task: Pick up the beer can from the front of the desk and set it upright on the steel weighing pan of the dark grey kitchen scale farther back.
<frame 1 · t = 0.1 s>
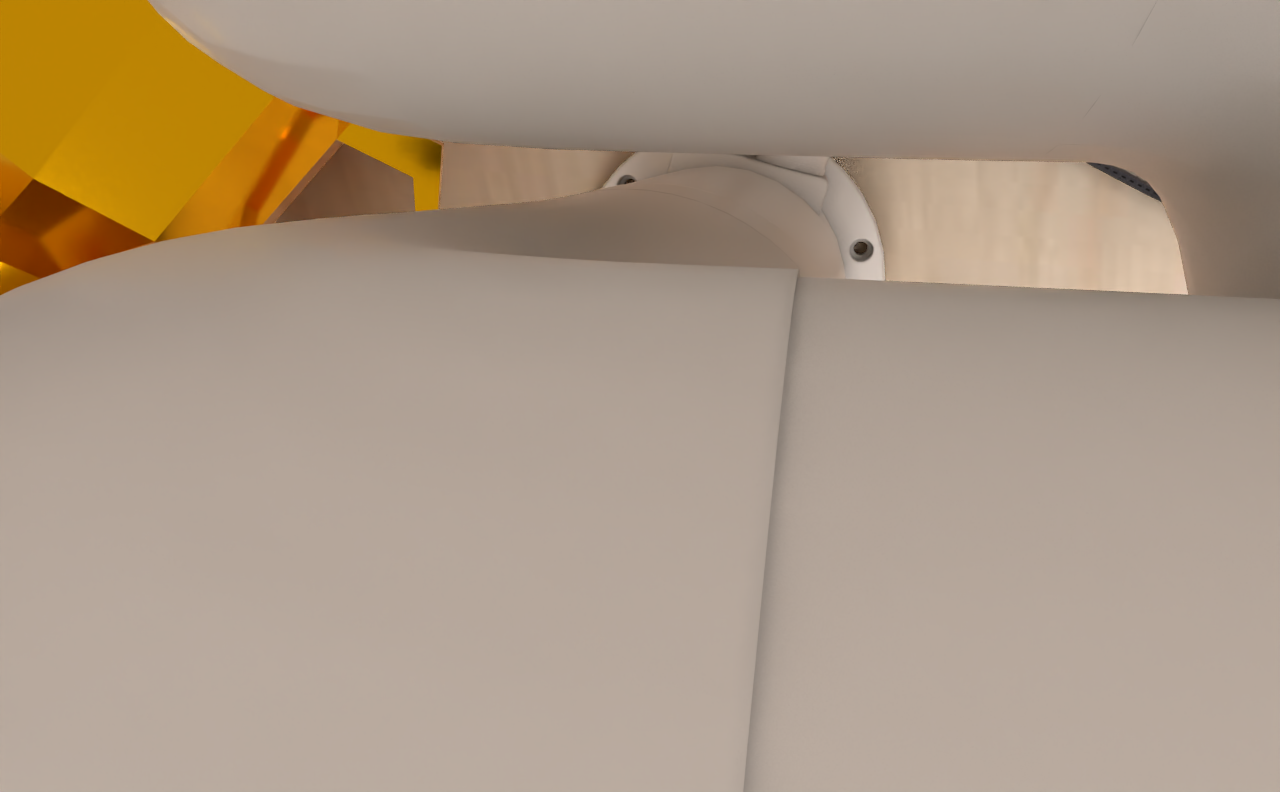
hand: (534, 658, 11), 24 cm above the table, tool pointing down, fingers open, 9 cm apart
toy tank: (1062, 25, 28), on the table
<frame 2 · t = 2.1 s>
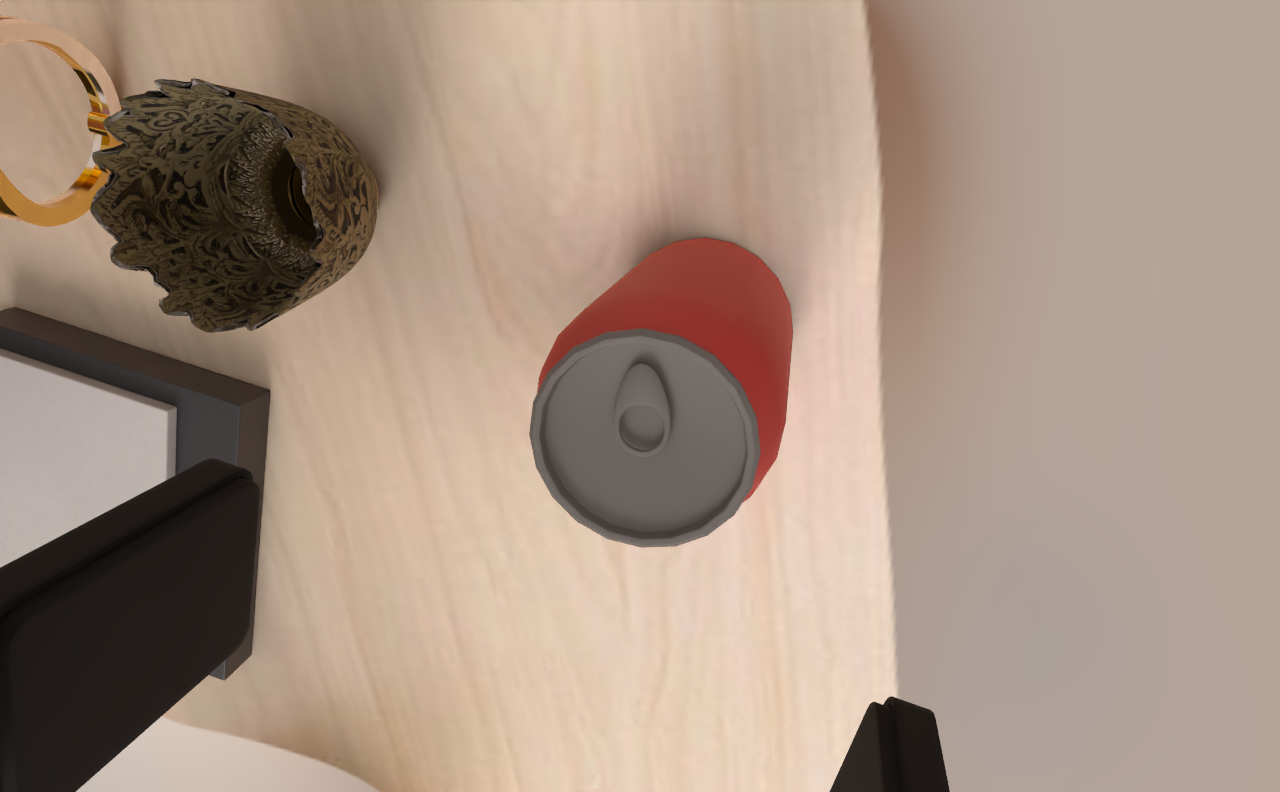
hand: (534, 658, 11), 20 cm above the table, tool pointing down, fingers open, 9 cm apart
scale: (139, 490, 38), on the table
ornate brass lampshade: (346, 190, 31), on the table
ring: (123, 124, 32), on the table
beer can: (705, 322, 30), on the table
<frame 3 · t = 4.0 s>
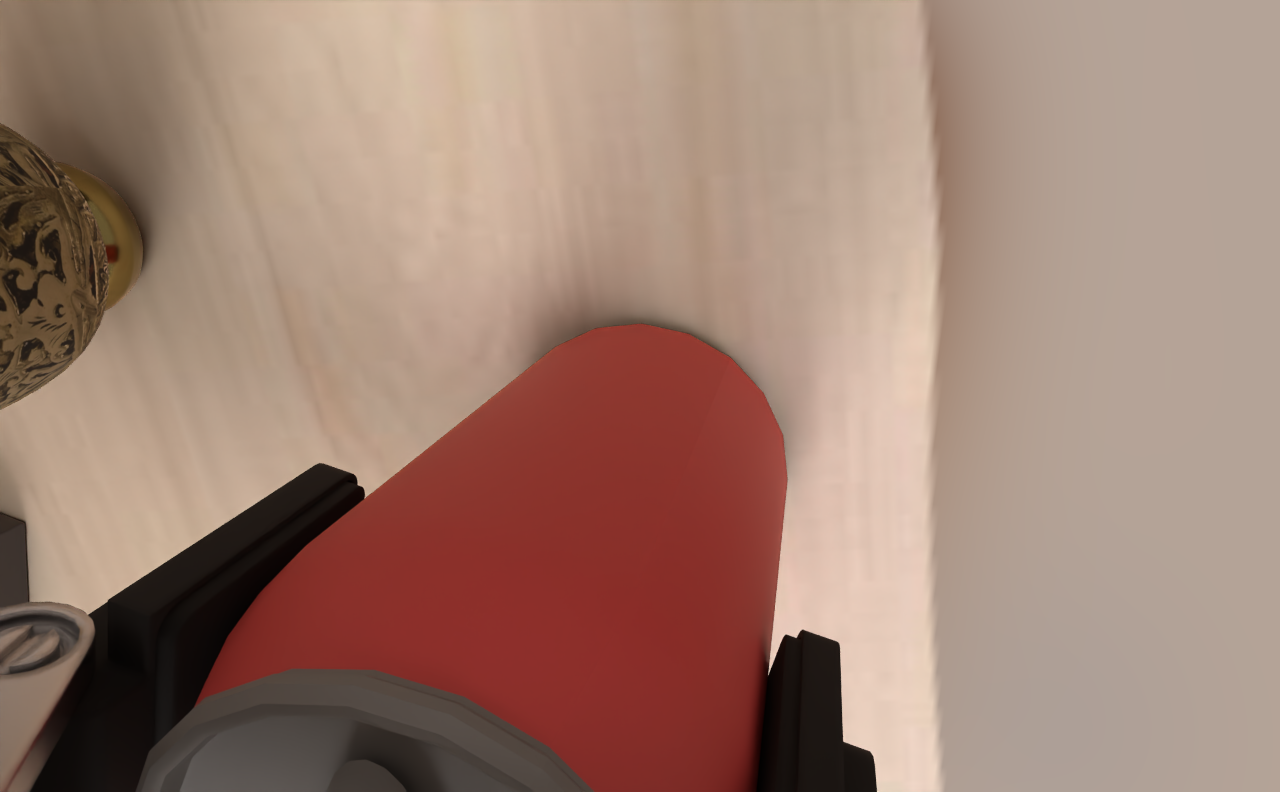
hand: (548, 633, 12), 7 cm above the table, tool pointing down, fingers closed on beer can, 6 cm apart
ornate brass lampshade: (101, 235, 20), on the table
beer can: (648, 451, 19), on the table, touching gripper
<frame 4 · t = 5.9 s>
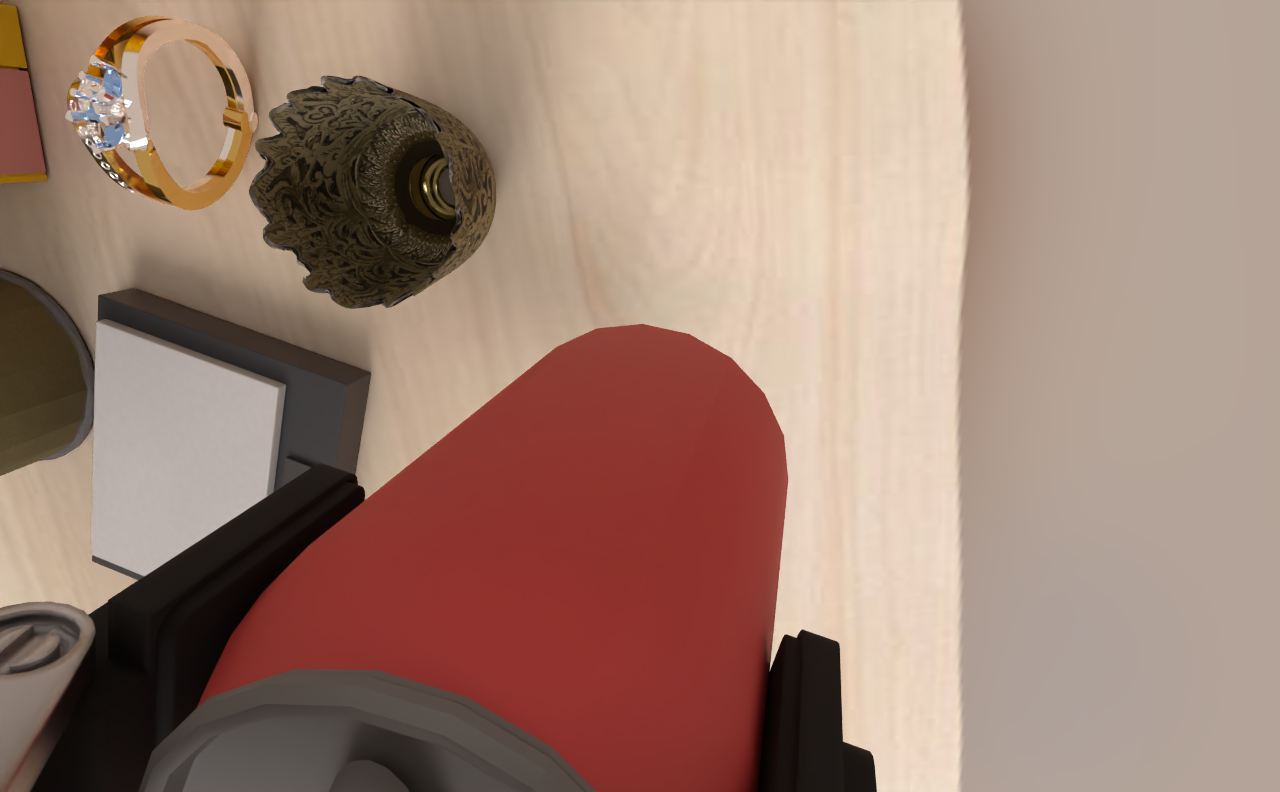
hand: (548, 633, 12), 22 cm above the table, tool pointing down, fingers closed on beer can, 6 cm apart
scale: (236, 465, 40), on the table
canister: (19, 361, 42), on the table
ornate brass lampshade: (459, 186, 33), on the table
ring: (252, 120, 34), on the table
beer can: (648, 451, 19), point 15 cm above the table, touching gripper
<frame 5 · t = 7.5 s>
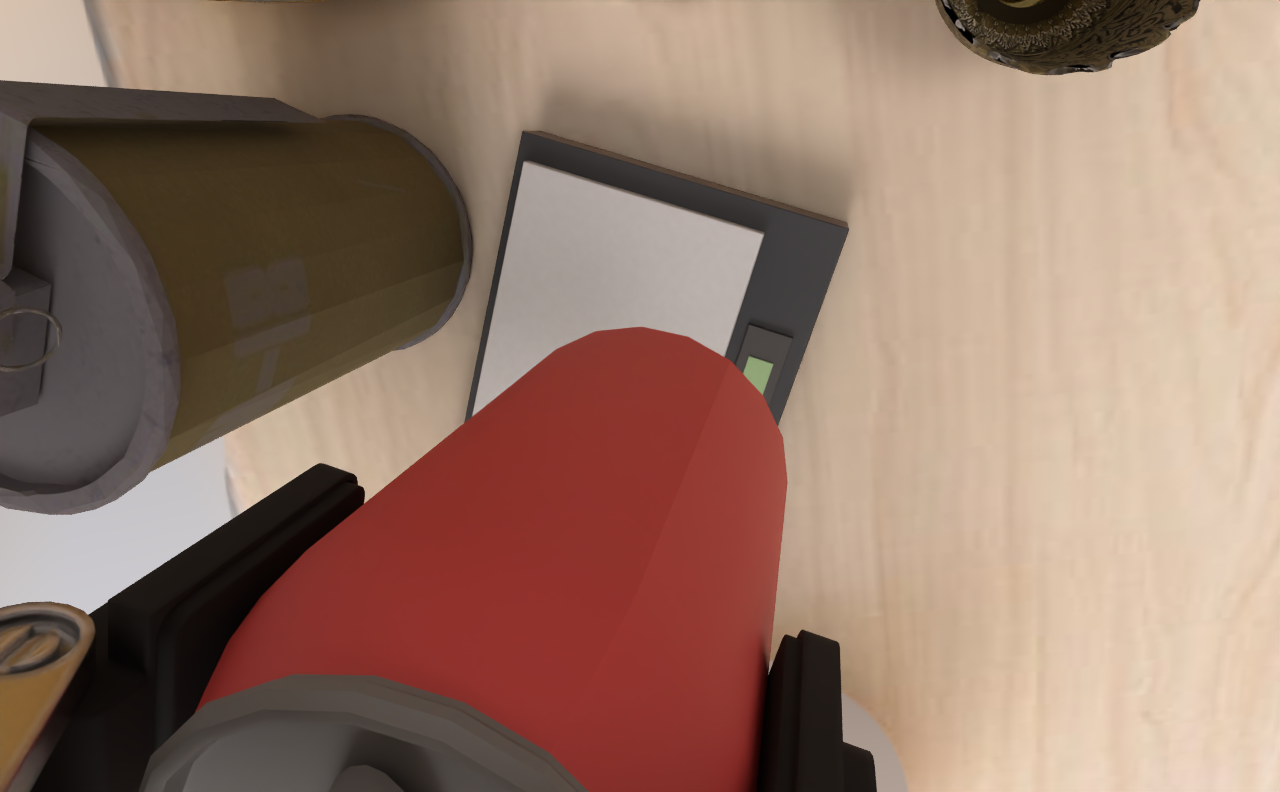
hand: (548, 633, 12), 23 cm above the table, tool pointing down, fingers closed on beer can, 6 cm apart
scale: (641, 347, 34), on the table
canister: (368, 232, 35), on the table
beer can: (648, 453, 19), point 15 cm above the table, touching gripper
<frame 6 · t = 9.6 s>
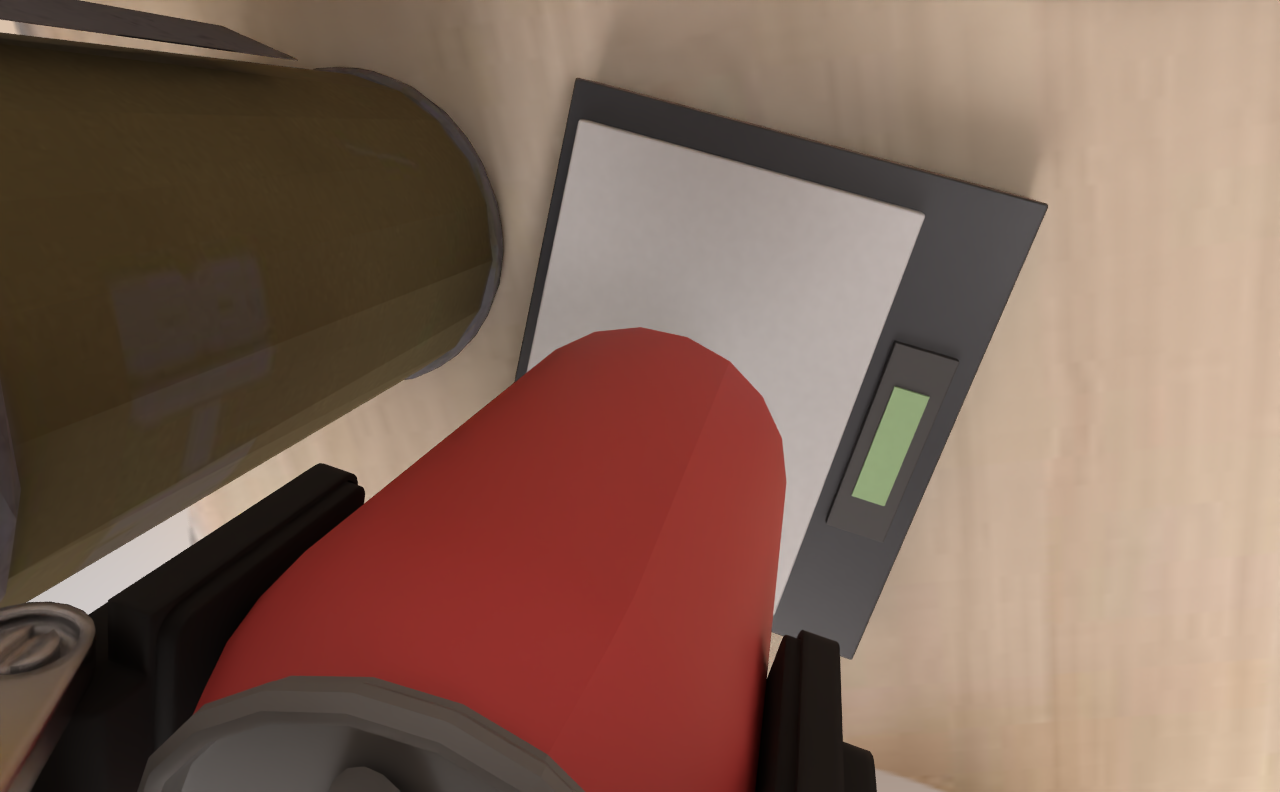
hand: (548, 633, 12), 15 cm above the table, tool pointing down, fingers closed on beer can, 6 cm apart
scale: (732, 373, 25), on the table
canister: (365, 226, 27), on the table
beer can: (647, 454, 19), point 8 cm above the table, touching gripper
when the fingers open (10 cm above the table, at t = 11.4 s): beer can stays where it is, resting on scale.
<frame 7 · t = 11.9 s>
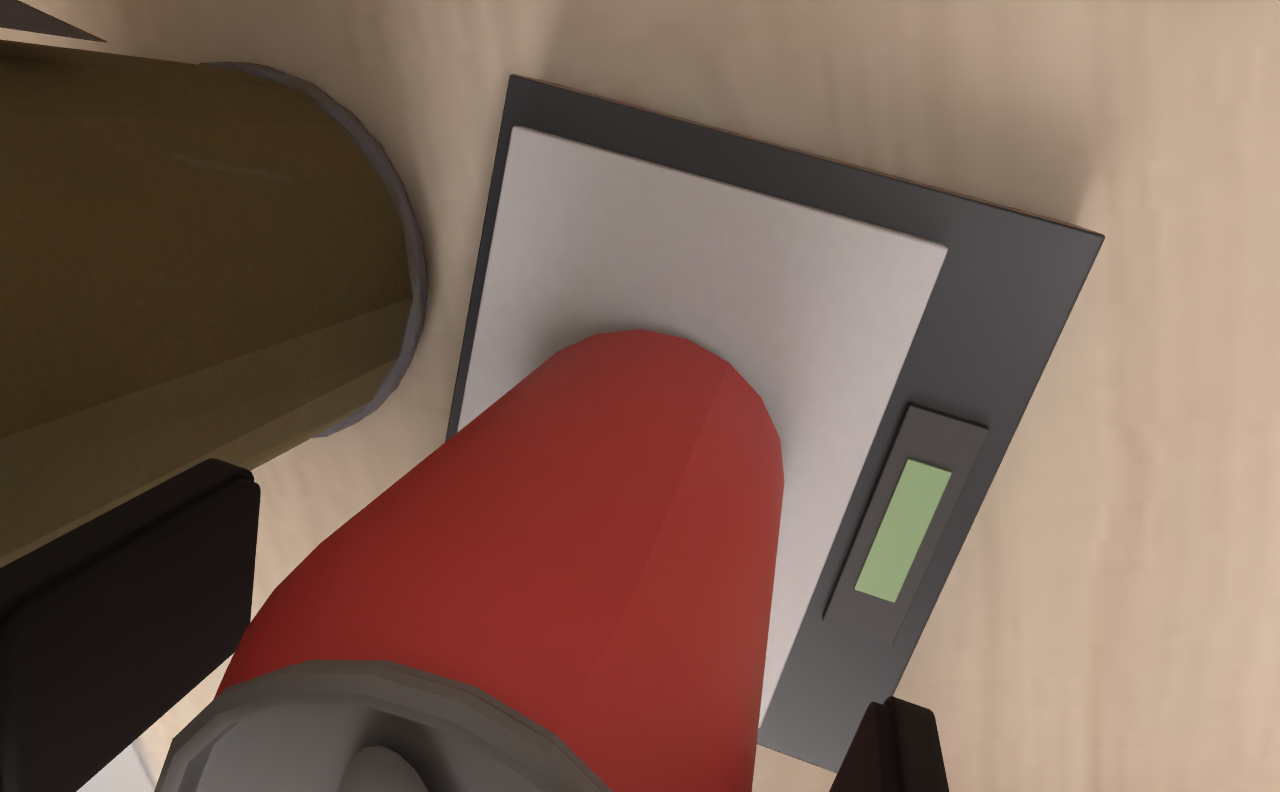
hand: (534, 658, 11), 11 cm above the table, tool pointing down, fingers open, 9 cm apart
scale: (709, 432, 21), on the table
canister: (268, 254, 22), on the table, touching gripper
beer can: (648, 454, 19), point 2 cm above the table, touching scale
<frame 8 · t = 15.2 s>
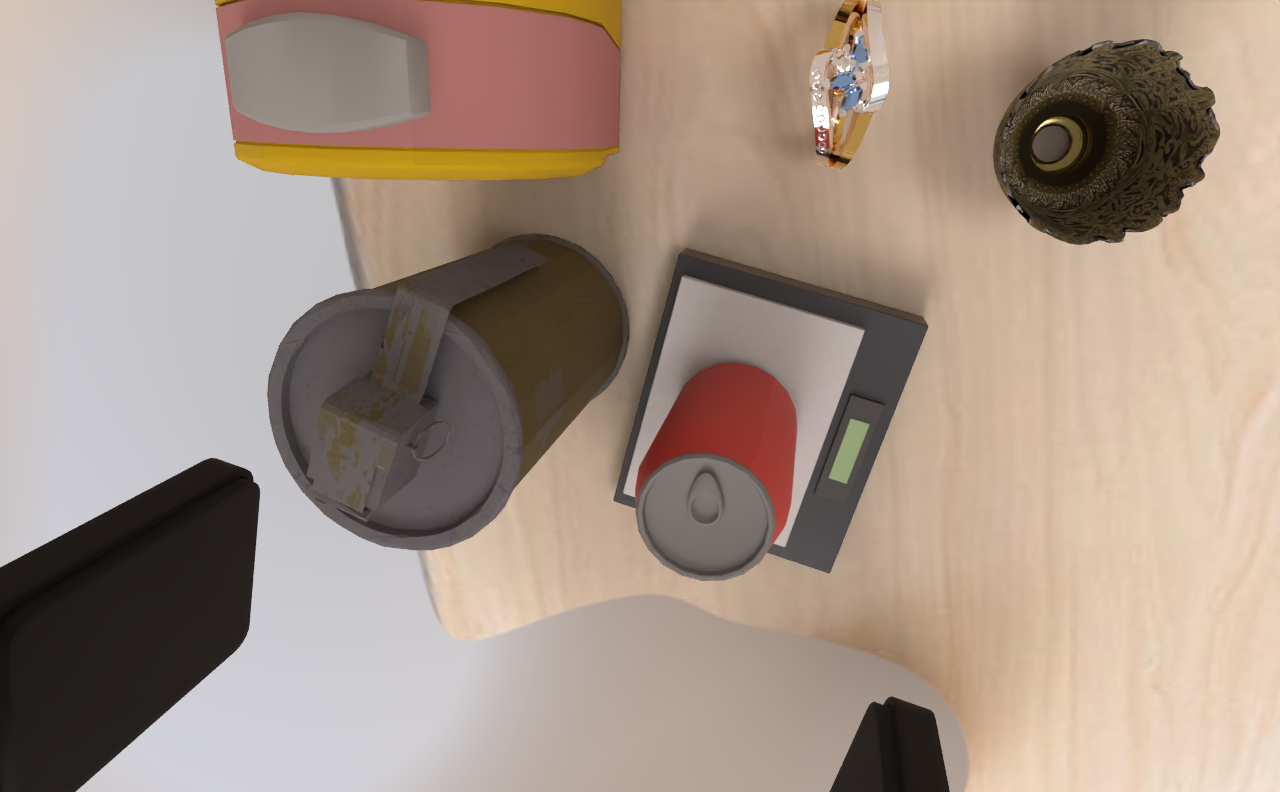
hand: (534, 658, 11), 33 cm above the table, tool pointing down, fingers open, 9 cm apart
scale: (760, 408, 44), on the table
canister: (544, 321, 46), on the table
ornate brass lampshade: (1049, 144, 37), on the table
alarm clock: (516, 81, 42), on the table, touching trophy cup
ring: (844, 90, 38), on the table
beer can: (735, 417, 42), point 2 cm above the table, touching scale
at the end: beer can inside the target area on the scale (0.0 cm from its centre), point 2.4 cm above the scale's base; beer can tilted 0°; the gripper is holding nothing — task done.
